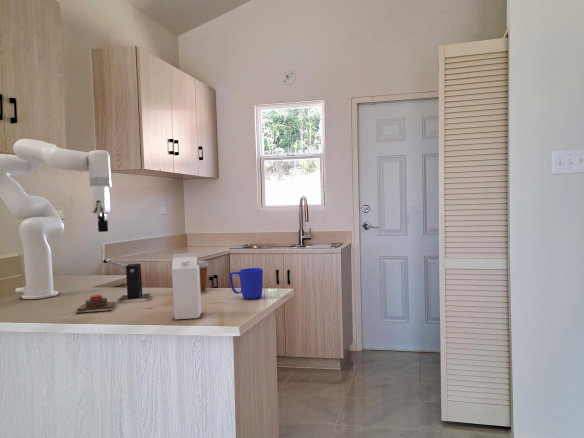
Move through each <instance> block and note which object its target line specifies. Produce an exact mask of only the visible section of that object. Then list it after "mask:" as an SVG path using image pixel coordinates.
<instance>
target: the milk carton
mask: <svg viewBox="0 0 584 438" xmlns="http://www.w3.org/2000/svg"><path fill="white" fill-rule="evenodd" d="M198 260H199V257H198V252H187V253H173V254H172V264H171V279H172V297H173V298H172V299H173V316H174V320H188V319H199V318H200V317H201V314H202V293H201V292H202V291H200V272H199V262H198Z"/></svg>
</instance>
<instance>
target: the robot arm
mask: <svg viewBox="0 0 584 438" xmlns="http://www.w3.org/2000/svg"><path fill="white" fill-rule="evenodd" d="M12 150H13V153H14V154H8V153H0V199H1V200H2V202H3V204H4V205H5V207H6V208H7V210H8V211H9V212H10V214H11V215H12V217H14V218H15V219H17V220H23V221H22V222H21V223H20V224H19V227H18V231H19V236H20V239H21V243H22V250H23V260H24V262H23V263H24V274H25V276H24V277H25V285H24V286H23V287H15V289H14V291H15V293H16V294H22V293H23V294H22V295H21V298H22V299H23V300H39V299H46V298H52V297H55V296H58V295H59V290H54V276H53V261H52V260H53V259H52V258H53V257H52V249H51V247H50V245H49V243H48V241H51V240H56V239H59V238H61V237H62V236H63V234H64V232H65V225H64V221H63V220H62V219H61V216H60V215H59V214H58V213H57V210H55V208H54V206H53V205H52V204H51V202H50V201H49V200H48V199H47V198H45V197H44V196H40V195H30V194H28V193H26V191H25V190H24V188H23V186H22V185H21V184H20V183H19V182H18V181H16V180H15V179H14V178H12V177H26V176H29V175H31V174H32V173H33V172H35V171H36V170H38V169H39V168H40V167H41V166H43V165H46V166H49V167H52V168H57V169H61V170H67V171H75V172H85V173H86V172H89V174H88V175H89V188H90V189H91V192H90V193H91V196H90V197H91V198H90V203H91V205H90V206H91V213H92V214H96V217H97V231H98V233H105V232H109V222H108V213H110V212H111V199H110V189H109V188H111V187H112V175H111V173H112V172H111V159H110V156H111V155H110V152H108V151H107V150H103V149H96V150H94V149H93V150H90V151H89V152H87V151H81V150H74V149H67V148H64V147H63V148H62V147H58V146H57V145H56V144H54V143H52V142H51V143H50V142H46V141H43V140H38V139H31V138H20V139H18V140H17V141H15V142H14V144H13V147H12Z"/></svg>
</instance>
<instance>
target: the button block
mask: <svg viewBox="0 0 584 438" xmlns="http://www.w3.org/2000/svg"><path fill="white" fill-rule="evenodd" d="M84 302H85V303H83V304H82V305H81V306H79V307H78V308H77V310H76V313H77V315H82V314H84V315H85V314H95V313H96V314H97V313H108V312H111V311H112V309H111V308H112V307H113V306H114V305H116V302H115V301H108V298H107V297H102V300H99V301H90V298H89V299H86V300H85V301H84Z"/></svg>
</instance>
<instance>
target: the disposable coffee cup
mask: <svg viewBox="0 0 584 438" xmlns="http://www.w3.org/2000/svg"><path fill="white" fill-rule="evenodd" d="M198 262H199V272H200V291H201V292H205V291H206V290H207V289H206V288H207V274H208V268H209V267H208V266H209V263H208V261H207V260H204V259H202V260H200V259H198Z"/></svg>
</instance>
